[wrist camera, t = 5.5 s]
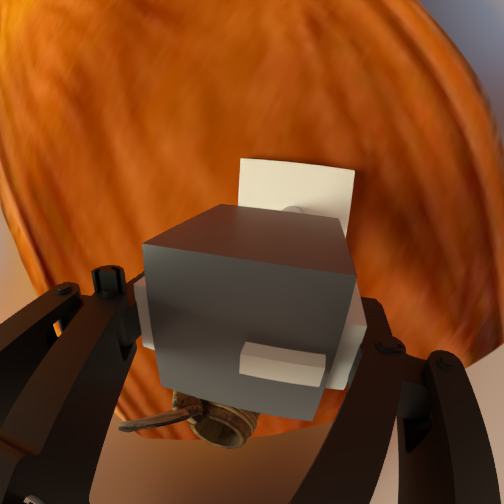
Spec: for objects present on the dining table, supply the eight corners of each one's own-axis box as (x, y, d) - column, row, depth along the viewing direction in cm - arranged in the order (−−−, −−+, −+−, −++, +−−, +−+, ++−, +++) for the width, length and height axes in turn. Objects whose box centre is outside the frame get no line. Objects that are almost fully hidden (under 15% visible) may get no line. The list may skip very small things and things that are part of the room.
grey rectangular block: (218, 305, 16) (155, 395, 9) (220, 204, 14) (130, 250, 7) (319, 322, 15) (310, 433, 8) (338, 218, 13) (360, 286, 6)
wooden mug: (230, 298, 30) (148, 426, 14) (293, 378, 32) (264, 506, 16) (177, 325, 34) (94, 428, 17) (238, 395, 36) (194, 501, 19)
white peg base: (244, 158, 25) (221, 158, 19) (352, 170, 23) (364, 173, 17) (239, 257, 28) (217, 285, 22) (337, 272, 26) (341, 304, 20)
